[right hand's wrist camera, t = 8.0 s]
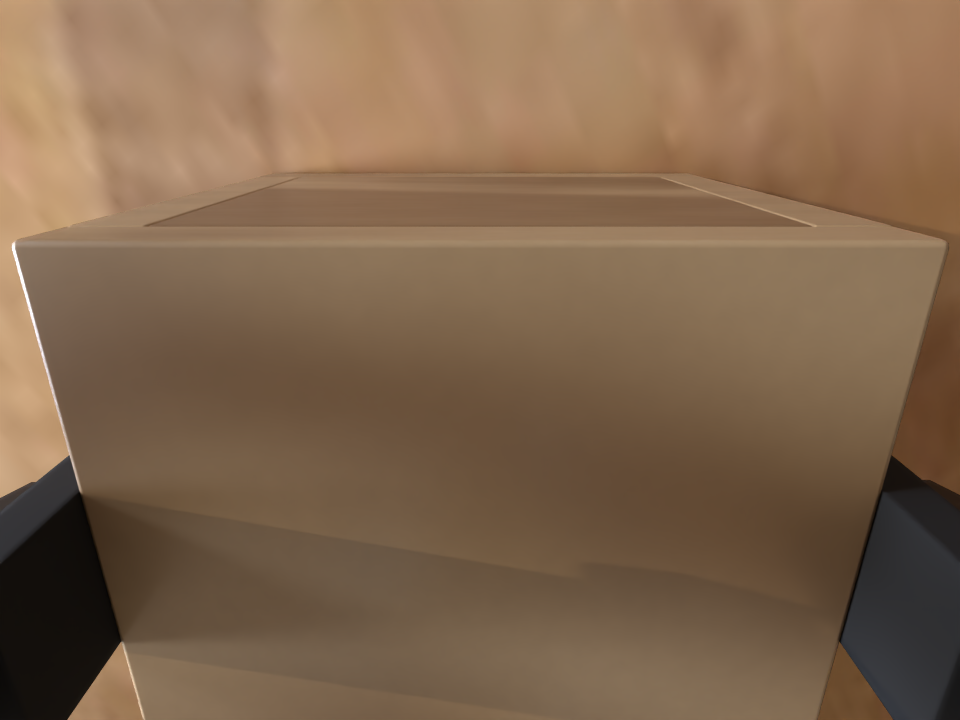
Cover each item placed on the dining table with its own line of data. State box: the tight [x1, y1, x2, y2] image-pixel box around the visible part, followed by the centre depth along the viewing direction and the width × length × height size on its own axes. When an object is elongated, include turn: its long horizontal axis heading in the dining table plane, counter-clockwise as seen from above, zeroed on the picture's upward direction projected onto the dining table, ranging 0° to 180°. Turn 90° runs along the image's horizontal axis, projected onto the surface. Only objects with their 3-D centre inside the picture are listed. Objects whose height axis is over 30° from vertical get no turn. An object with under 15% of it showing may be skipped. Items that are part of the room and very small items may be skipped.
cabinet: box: [12, 173, 949, 720], centre depth 16 cm, size 21×11×10 cm, turn 0°
